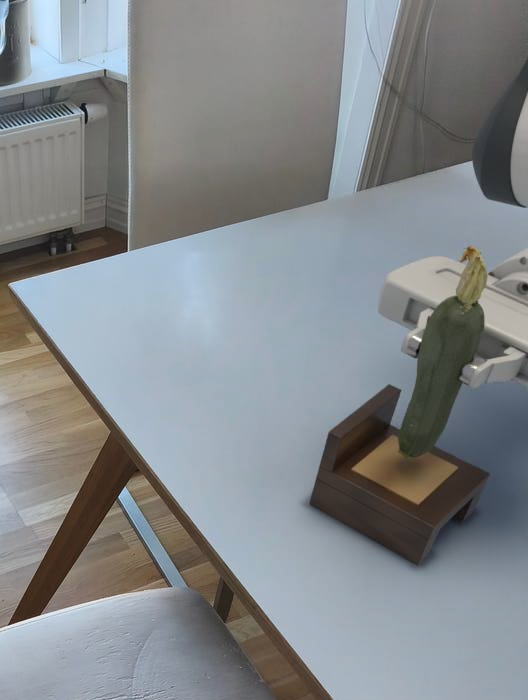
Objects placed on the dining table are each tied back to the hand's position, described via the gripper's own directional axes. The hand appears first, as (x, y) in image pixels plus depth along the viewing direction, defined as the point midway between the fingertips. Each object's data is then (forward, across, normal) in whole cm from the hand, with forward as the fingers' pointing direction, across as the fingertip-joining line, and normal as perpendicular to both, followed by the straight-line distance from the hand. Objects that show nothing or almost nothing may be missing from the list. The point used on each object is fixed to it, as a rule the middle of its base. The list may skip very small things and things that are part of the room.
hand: (438, 362), depth 73 cm
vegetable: (-1, 0, +11) cm, 11 cm away
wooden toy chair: (-1, 0, +17) cm, 17 cm away
